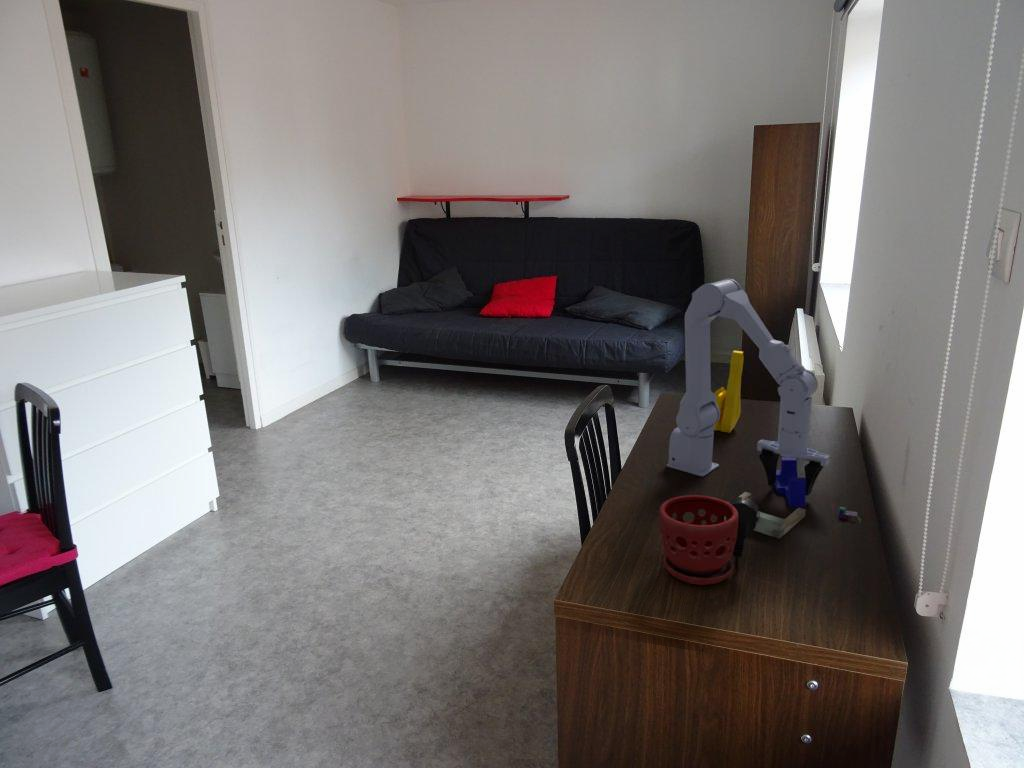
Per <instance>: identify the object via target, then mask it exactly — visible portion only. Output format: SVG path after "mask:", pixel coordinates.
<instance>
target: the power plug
mask: <svg viewBox="0 0 1024 768" xmlns="http://www.w3.org/2000/svg"><path fill="white" fill-rule="evenodd" d="M729 503H730V504H731V505H733V506H734V507H735V508H736V510H737V512H738V530H737V539H736V542H735V547H734V551H733V553H732V556H733V557H734V566H733V568H734V569H733V570H735V571H738V570H739V567H740V566H739V564H740V558H742V556H743V553H744V549H745V545H746V540H747V537H748V536H747V535H748V533H750V532H752V531H754V530H753V529H755V527H756V524H757V522H758V521H759V517H760V512H761V511H759V506H758V504H757V503H756V502H755V501H754V500H753V499H752V498H751V499H749V498H746V500H742V497H739V496H738V497H735V498H732V499H731V500H730V501H729ZM758 511H759V512H758ZM726 521H727V518H726Z"/></svg>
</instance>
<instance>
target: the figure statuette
mask: <svg viewBox="0 0 1024 768" xmlns="http://www.w3.org/2000/svg"><path fill="white" fill-rule="evenodd" d="M744 359H745V358H744V351H740V350H733V351H732V352H731V359H730V364H729V365H730V366H729V375H728V380H727V384H726V385H727V386H726V389H725V387H723V386H721V387H720V388H718V389H717V390H716V391H715V392H713V393H714V395H715V396H716V403H717V406H718V408H719V411H720V418H719V420H718V422H717V423H716V424H714V431H718V430H719V431H720V432H722V433H729V434H731V433H732V431H733V429H734V428H735V426H736V424H737V422H738V420H739V418H740V417H741V411H742V409H741V405H742V404H741V390H742V389H741V385H742V375H743V368H744V367H743V366H744Z"/></svg>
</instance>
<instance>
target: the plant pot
mask: <svg viewBox="0 0 1024 768" xmlns="http://www.w3.org/2000/svg"><path fill="white" fill-rule="evenodd" d="M700 510H703V511H705V513H704V514H700V513H699V511H700ZM686 513H691V514H693V517H694V518H693V520H691V521H689V522H687V521H685V519H684V515H685V514H686ZM674 514H675V518H673V515H674ZM712 516H715V517H716V520H713V519H712ZM724 516H725V517H726V518H727V521H724ZM702 521H705V522H706V524H703V523H702ZM737 530H738V512H737V510H736V508H735V507H734V506H733V505H731V504H730V503H728V501H727V500H726V501H725V500H723V499H721V498H717V497H714V496H709V495H701V494H699V495H697V494H688V495H680V496H676V497H672V498H670V499H668V500H666V501H664V502H663V503H662V504H661V505H660V507H659V532H660V534H659V535H660V540H661V544H662V547H663V549H664V552H665V555H664V557H663V558H664V559H663V563H664V567H665V569H666V571H668V573H669V574H670V575H672V576H673V577H674V578H675V579H678V580H680V581H682V582H685V583H688V584H692V585H700V586H701V585H713V584H718V583H721V582H723V581H724V580H725V579H727V578H728V577H729V576H730V575H731V573H732V571H733V570H734V569H733V568H734V564H733V562H732V561H733V560H731V557H732V556H733V551H734V547H735V542H736V539H737Z"/></svg>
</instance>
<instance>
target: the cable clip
mask: <svg viewBox="0 0 1024 768" xmlns="http://www.w3.org/2000/svg"><path fill="white" fill-rule="evenodd" d="M780 457H781V458H780V469H776V481H775V483H774V484H773V485H774V487H775V490H776V492H777V495H779V494H780V495H785V499H786V501H787V504H788V506H789V508H806V498H807V497H806V479H805V477H798V465H797V464H798V459H796V458H792V457H790V458H787V457H783V456H780Z"/></svg>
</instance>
